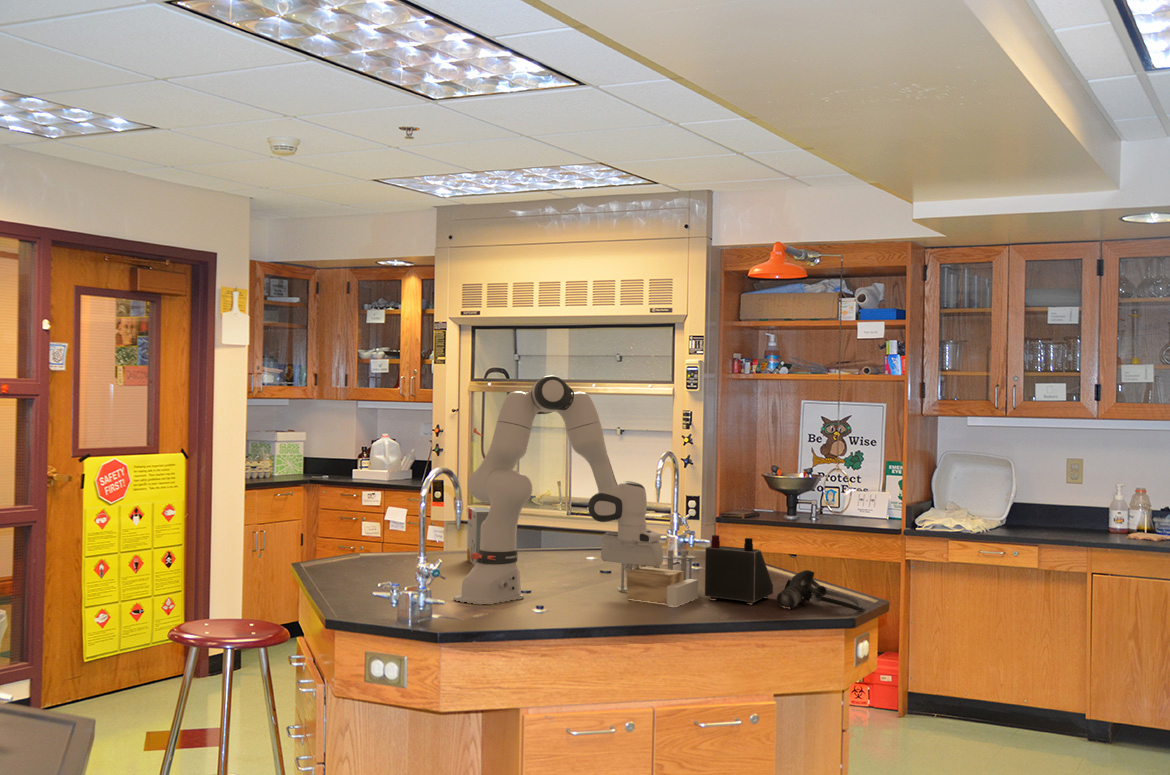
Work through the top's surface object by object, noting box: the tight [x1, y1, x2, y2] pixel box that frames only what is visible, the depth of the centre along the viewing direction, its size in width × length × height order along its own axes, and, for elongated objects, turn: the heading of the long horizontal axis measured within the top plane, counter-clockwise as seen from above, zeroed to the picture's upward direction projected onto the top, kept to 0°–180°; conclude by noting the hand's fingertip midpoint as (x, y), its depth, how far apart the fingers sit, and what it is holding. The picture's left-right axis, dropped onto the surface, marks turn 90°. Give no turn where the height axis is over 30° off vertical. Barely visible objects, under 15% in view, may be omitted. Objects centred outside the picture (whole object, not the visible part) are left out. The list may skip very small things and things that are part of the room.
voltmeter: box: [704, 534, 774, 603], centre depth 319 cm, size 16×16×20 cm
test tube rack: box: [616, 549, 697, 592], centre depth 331 cm, size 25×4×13 cm, turn 97°
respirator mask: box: [776, 569, 863, 612], centre depth 310 cm, size 20×22×15 cm
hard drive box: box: [466, 506, 490, 567], centre depth 381 cm, size 16×8×20 cm, turn 17°
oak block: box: [627, 566, 684, 604], centre depth 314 cm, size 10×14×9 cm
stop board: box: [666, 578, 699, 606], centre depth 311 cm, size 16×3×6 cm, turn 150°
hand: (631, 578), depth 320 cm, fingers closed
